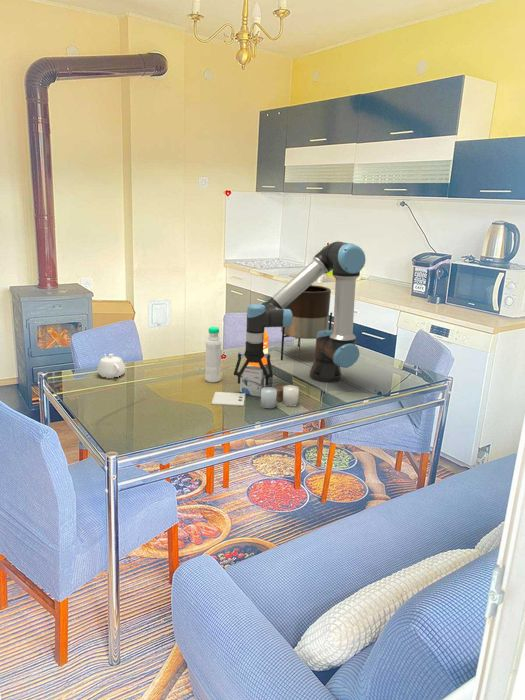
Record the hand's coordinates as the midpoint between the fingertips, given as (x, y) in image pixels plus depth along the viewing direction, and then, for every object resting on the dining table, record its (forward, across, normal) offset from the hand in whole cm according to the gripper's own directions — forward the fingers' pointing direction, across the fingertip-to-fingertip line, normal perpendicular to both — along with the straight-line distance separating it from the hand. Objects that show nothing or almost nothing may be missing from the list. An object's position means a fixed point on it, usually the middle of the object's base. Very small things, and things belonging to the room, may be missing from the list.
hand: (252, 391), depth 222 cm
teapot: (+1, +66, -14) cm, 67 cm away
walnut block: (+1, -12, +5) cm, 13 cm away
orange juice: (+1, 0, -41) cm, 41 cm away
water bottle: (+1, +19, -14) cm, 24 cm away
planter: (+1, -24, -60) cm, 65 cm away
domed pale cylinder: (+1, -7, +13) cm, 15 cm away
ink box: (+1, 0, 0) cm, 1 cm away
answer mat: (+1, +10, +8) cm, 13 cm away
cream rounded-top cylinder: (+1, -16, +9) cm, 19 cm away
